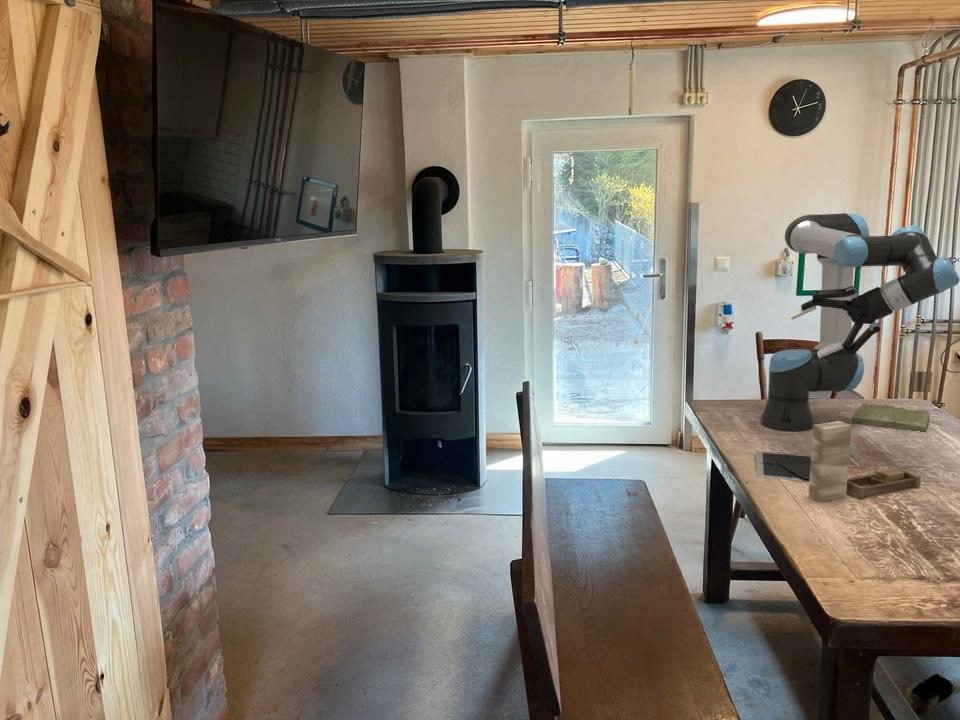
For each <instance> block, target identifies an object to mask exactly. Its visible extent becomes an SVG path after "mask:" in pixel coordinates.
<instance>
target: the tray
mask: <svg viewBox="0 0 960 720" xmlns="http://www.w3.org/2000/svg"><path fill="white" fill-rule="evenodd" d="M888 468H893V469H896V470H899V471H902V472H904V480H898V481H893V482H888V483H885V482H884V481H881V480H879V479H876V478H875V473H870V474H865V475H860V476H855V477H849V478H847V491H846V496H847V495H848V496H850V497H852V498H855V499H856V500H859V501H862V500H868V499H872V498H876V497H877V498H878V497H881V496H882V497H883V496H888V495H893V494H897V493H903V492H907V491H913V490H916V489H920V488H921V487H920V485H921V476H920V475H916V474H914V473H911V472H909V471H907V470H906V471H905V470H903V469H900V468H897V467H894V466H891V465H889V466H888Z"/></svg>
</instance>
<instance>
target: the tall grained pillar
mask: <svg viewBox="0 0 960 720" xmlns="http://www.w3.org/2000/svg"><path fill="white" fill-rule="evenodd" d="M811 434H812V439H811V449H810V450H811V453H810V455H811V465H810V480H809V482H808V484H809V485H808V498H809V499H811V500H814V501H816V502H818V503H825V502H829V501H835V500H841V499H845V498H847V494H846V491H847V479H848V474H849V461H850V450H851V440H852V439H851V437H852V424H850V423H847V422H843V421H839V420H836V421H831V422H825V423H816V424H813V428H812V433H811Z"/></svg>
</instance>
